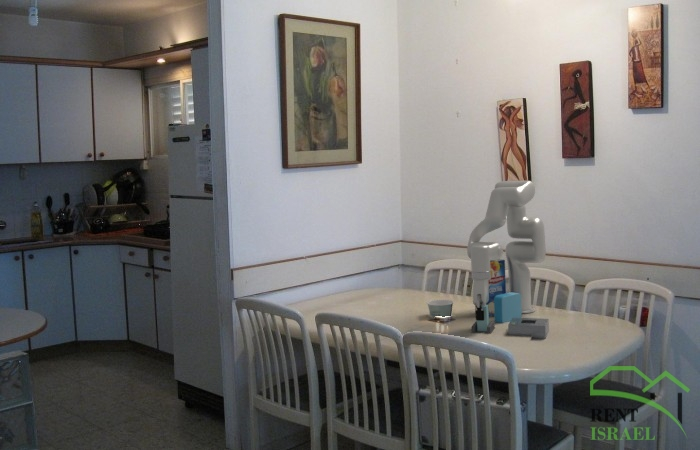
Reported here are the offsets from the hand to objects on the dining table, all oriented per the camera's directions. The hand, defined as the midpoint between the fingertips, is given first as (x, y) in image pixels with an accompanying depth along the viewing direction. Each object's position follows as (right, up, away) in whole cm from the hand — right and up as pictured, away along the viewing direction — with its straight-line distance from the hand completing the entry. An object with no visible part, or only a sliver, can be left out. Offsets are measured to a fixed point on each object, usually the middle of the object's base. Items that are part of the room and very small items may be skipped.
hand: (482, 317), depth 293 cm
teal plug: (0, -5, +1) cm, 5 cm away
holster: (+1, -6, +1) cm, 6 cm away
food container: (-13, -4, +34) cm, 36 cm away
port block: (+17, -6, -6) cm, 19 cm away
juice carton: (+10, -3, +33) cm, 35 cm away
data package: (+14, -4, +16) cm, 22 cm away
